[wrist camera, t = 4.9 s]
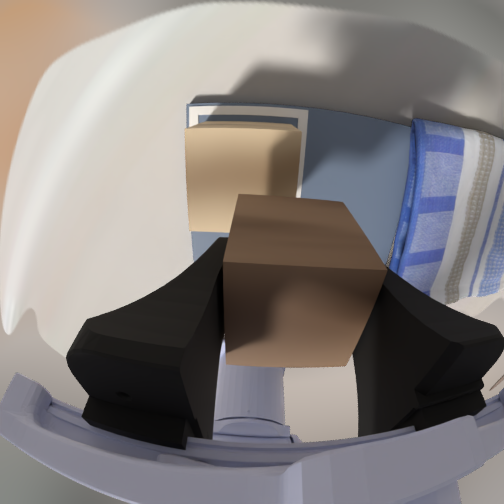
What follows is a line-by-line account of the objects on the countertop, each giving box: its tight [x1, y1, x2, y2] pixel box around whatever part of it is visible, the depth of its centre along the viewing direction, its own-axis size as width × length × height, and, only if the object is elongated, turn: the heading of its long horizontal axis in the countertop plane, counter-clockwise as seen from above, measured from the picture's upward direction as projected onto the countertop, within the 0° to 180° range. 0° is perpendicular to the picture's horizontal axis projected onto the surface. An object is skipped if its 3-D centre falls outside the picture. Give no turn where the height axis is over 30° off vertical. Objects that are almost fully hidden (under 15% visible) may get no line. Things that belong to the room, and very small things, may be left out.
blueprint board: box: [187, 103, 411, 265], centre depth 20 cm, size 16×16×1 cm
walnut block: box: [223, 194, 388, 367], centre depth 10 cm, size 4×4×5 cm
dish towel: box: [389, 118, 504, 305], centre depth 17 cm, size 17×24×3 cm
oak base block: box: [185, 121, 302, 233], centre depth 15 cm, size 6×6×5 cm
